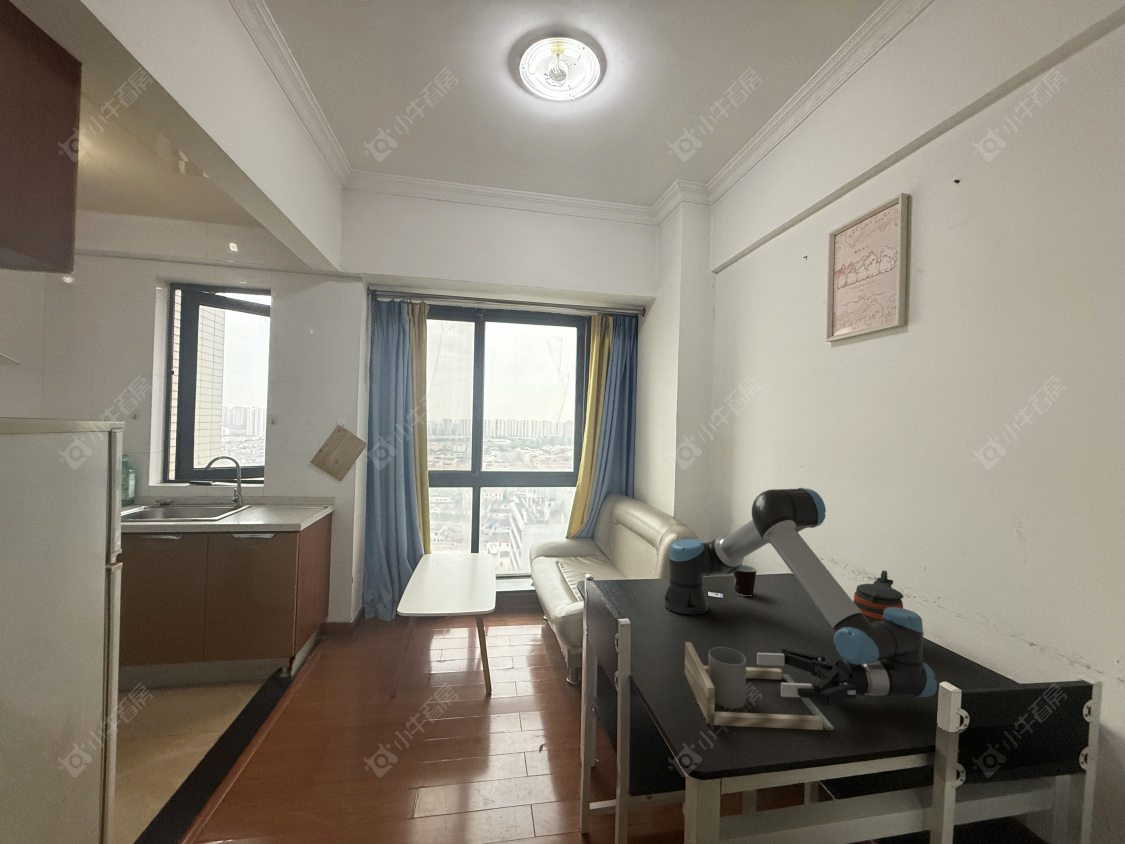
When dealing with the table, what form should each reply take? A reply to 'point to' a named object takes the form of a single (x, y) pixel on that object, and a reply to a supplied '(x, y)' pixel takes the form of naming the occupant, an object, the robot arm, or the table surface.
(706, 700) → the bay
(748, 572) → the coffee mug
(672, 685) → the table surface
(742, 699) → the cup
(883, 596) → the beer stein
